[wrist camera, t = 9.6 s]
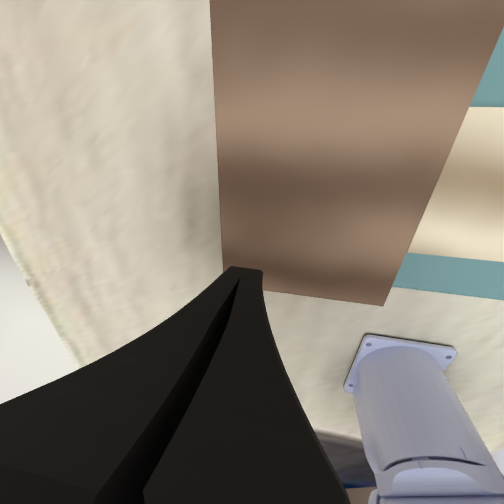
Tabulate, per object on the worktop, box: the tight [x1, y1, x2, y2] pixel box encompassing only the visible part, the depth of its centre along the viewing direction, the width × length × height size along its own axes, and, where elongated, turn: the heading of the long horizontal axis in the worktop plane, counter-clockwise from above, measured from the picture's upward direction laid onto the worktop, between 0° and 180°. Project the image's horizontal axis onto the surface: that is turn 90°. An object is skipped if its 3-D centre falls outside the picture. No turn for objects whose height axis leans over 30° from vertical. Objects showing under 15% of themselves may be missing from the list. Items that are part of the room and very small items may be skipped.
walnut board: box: [210, 0, 504, 306], centre depth 14 cm, size 16×12×3 cm
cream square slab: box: [407, 107, 504, 262], centre depth 13 cm, size 8×8×2 cm
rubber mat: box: [392, 27, 504, 300], centre depth 14 cm, size 16×10×1 cm, turn 179°
